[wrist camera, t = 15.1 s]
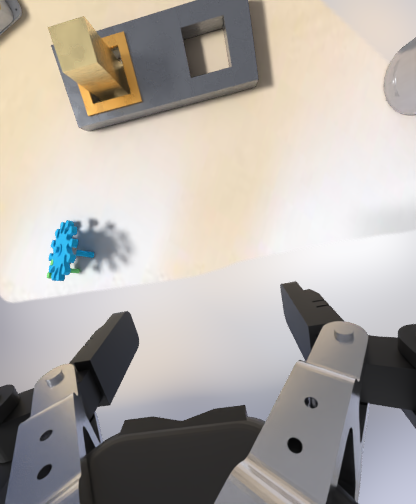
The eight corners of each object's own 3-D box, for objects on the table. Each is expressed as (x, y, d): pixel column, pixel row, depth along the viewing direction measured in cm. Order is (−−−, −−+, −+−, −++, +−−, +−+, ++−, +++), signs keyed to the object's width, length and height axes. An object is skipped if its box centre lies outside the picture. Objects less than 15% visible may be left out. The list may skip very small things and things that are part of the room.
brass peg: (123, 65, 33) (83, 16, 23) (131, 96, 34) (97, 62, 24) (97, 72, 33) (47, 27, 23) (106, 103, 34) (62, 72, 24)
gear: (63, 206, 37) (71, 249, 32) (99, 216, 42) (112, 255, 36) (40, 253, 41) (44, 298, 36) (75, 258, 46) (84, 298, 40)
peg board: (243, 0, 30) (246, -18, 27) (255, 87, 33) (258, 78, 30) (63, 55, 32) (49, 43, 30) (88, 131, 35) (77, 126, 32)
